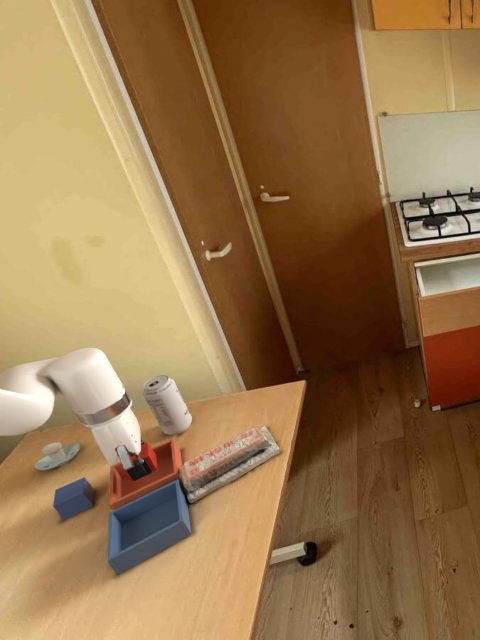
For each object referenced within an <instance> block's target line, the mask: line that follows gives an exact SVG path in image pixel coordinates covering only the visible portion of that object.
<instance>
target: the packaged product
mask: <svg viewBox="0 0 480 640" xmlns="http://www.w3.org/2000/svg"><path fill="white" fill-rule="evenodd" d="M278 454H280V447H279V446H278V444H277V443H276V440H275V439H274V437H273V435H272V433H271V432H270V430H269V429H268V428H267V426H266V425H264V426H262V427H259V426H254V427H252V428H250V429H248V430H246V431H244V432H242V433H240V434H239V435H236V436H234V437H232V438H231V439H228V440H226V441H225V442H223V443H221V444H219V445H217V446H215V447H213V448H211V449H209V450H206V451H205V452H203V453H201V454H199V455H197V456H195V457H193V458H191V459H189V460H187V461H184V462H183V463H182V465H181V468H180V473H179V476H180V479H181V482H182V483H183V485H184V487H183V488H184V490H185V491H186V497H187V502H189V503H190V504H193V503H195V502H196V501H198V500H200V499H202V498H203V497H205V496H206V495H207V496H208V495H209V494H210V493H212V492H214V491H216V490H217V489H220V488H221V487H224V486H225V485H227V484H229V483H232V482H233V481H236V480H237V479H239V478H240V477H242V476H243V475H245V474H246V473H248V472H250V471H251V470H252V469H255V468H257V467H258V466H260V465H262V464H263V463H265V462H267V461H268V460H270V459H272V458H273V457H275V456H277V455H278Z"/></svg>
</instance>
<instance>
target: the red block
mask: <svg viewBox="0 0 480 640" xmlns="http://www.w3.org/2000/svg"><path fill="white" fill-rule="evenodd" d="M152 448H153V447H152V445H151V444H150V442H149V441H146V442H145V443H144V444H142V445H141V451H140V454H141V456H142V458H143V459H146V461H147V462H148V464H149V466H150V467H151V469H152V472H153V471H155V470H157V459H156V454H155V452H154V451H153V449H152ZM129 452H130V451H129ZM131 459H132V460H135V459H137V458H136V456H135V455H134V456H132V457H131ZM120 462H121V461H120ZM121 468H122V470H123V471H124V473H125V474H126V476H127V477H128V479H129V480H130V482H131V481H133V480H132V478H131V477H130V475H129V474H128V472H127V471H125V470H124V467H123V465H122V462H121Z"/></svg>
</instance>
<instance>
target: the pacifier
mask: <svg viewBox="0 0 480 640" xmlns="http://www.w3.org/2000/svg"><path fill="white" fill-rule="evenodd" d="M62 445H63V444H62V443H60V442H51V443H49V444H46V445H45V446H44V447H43V448H42V450H41V452H42V454H43V455H45V457H43V458H40V459H39V460H38V461H36V462H35V464H34V468H35V469H36V470H38V471H47V470H52V469H55V468H58V467H61V466H63V465H64V464H66V463H68V462H69V461H71V460H72V459H73V458H75V456H76V455H77V454H78V453H79V451H80V444H79V443H72V444H69V445H68V446H65V447H63V446H62ZM62 447H63V448H62Z"/></svg>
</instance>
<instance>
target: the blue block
mask: <svg viewBox="0 0 480 640" xmlns="http://www.w3.org/2000/svg"><path fill="white" fill-rule="evenodd" d="M94 498H95V490H94V488H93V486H92V485H91V483H90V482H89V481H88V479H87V478H86V477H85V476H84V477H81V478H78V479H77V480H75V481H72V482H70V483H67V484H66V485H63V486H61V487H59V488H56V489H55V491H54V497H53V505H52V507H53V509H54V510H55V511H56V512H57V513H58V514H59V515H60V517H61V518H62V520H67V519H68V518H71V517H73V516H76V515H77V514H79V513H82V512H83V511H86V510H88V509H90V508H92V507H94V501H95V499H94Z"/></svg>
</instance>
